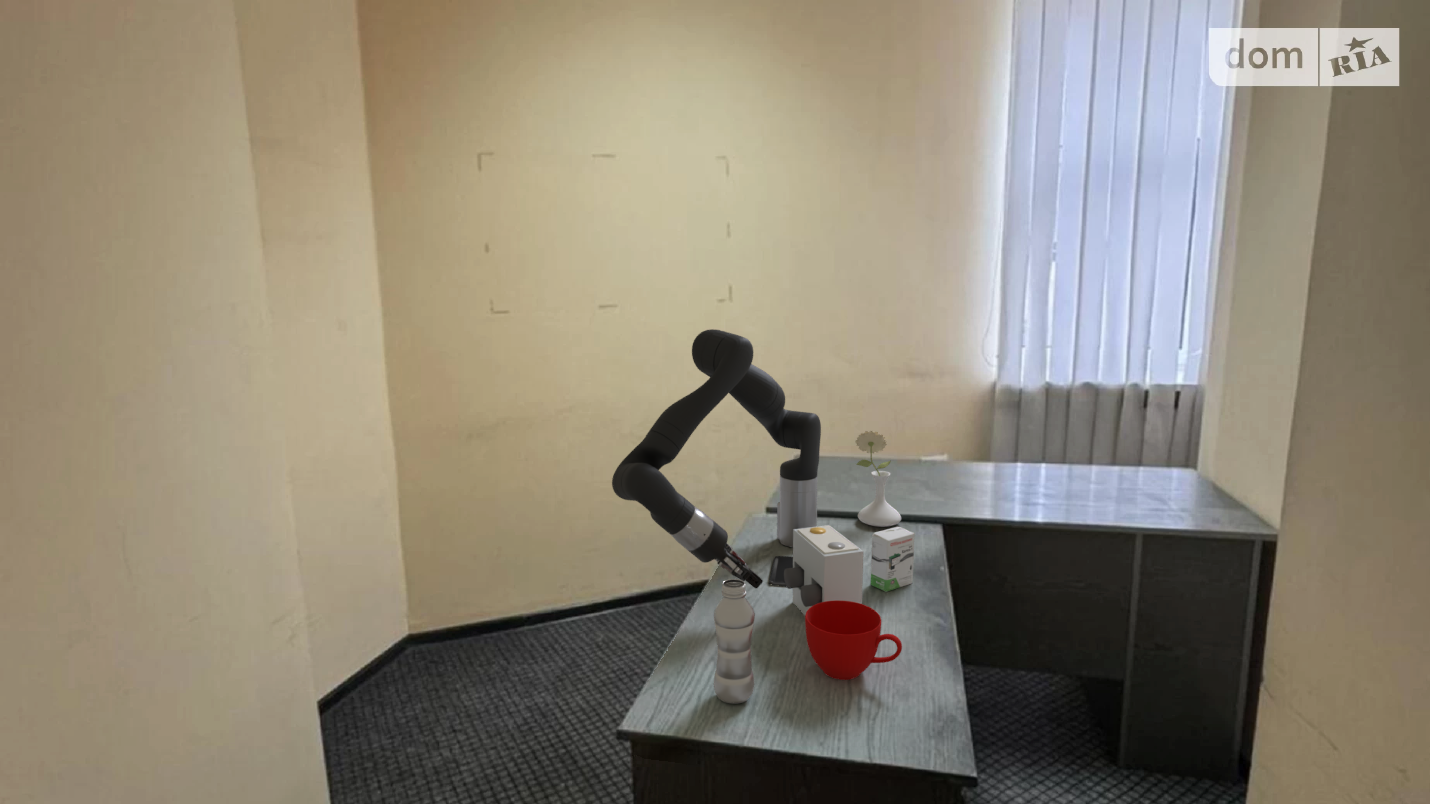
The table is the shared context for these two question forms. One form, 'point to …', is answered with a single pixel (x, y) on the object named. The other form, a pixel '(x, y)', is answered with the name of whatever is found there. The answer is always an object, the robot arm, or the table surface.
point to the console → (828, 564)
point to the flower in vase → (879, 508)
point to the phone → (780, 569)
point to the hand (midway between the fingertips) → (758, 583)
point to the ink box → (892, 558)
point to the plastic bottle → (734, 644)
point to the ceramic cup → (845, 638)
